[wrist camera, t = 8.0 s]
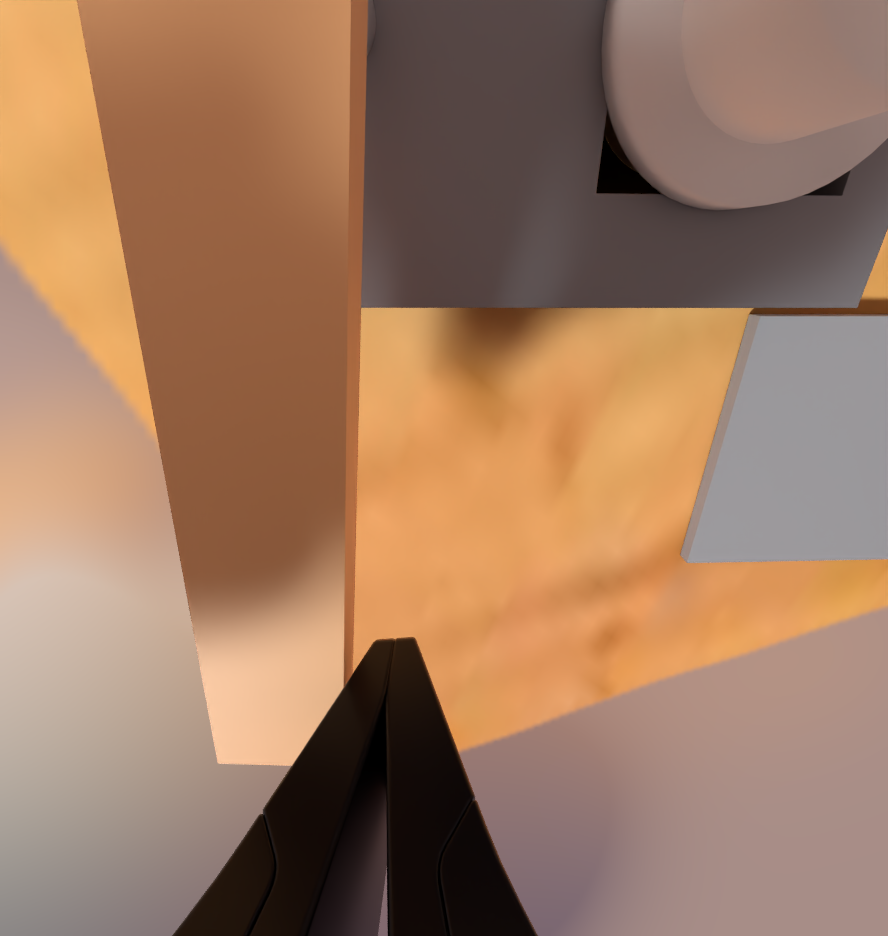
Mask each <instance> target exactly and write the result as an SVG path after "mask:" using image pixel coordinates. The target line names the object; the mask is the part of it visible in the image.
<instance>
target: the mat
mask: <svg viewBox="0 0 888 936" xmlns="http://www.w3.org/2000/svg"><path fill="white" fill-rule="evenodd" d="M680 555H681V556H682V558H683V559H684V560H685V561H686V562H687V563H709V562H762V561H815V560H868V559H888V314H749V317H748V321H747V324H746V328H745V331H744V335H743V338H742V342H741V345H740V349H739V352H738V356H737V359H736V362H735V366H734V369H733V373H732V376H731V380H730V383H729V387H728V390H727V394H726V397H725V401H724V404H723V408H722V411H721V415H720V418H719V422H718V425H717V429H716V432H715V436H714V439H713V443H712V446H711V450H710V453H709V457H708V460H707V464H706V467H705V471H704V474H703V478H702V481H701V485H700V488H699V492H698V495H697V498H696V502H695V505H694V509H693V512H692V516H691V519H690V523H689V526H688V530H687V533H686V537H685V540H684V544H683V547H682V551H681V554H680Z"/></svg>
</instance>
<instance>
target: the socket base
mask: <svg viewBox="0 0 888 936" xmlns="http://www.w3.org/2000/svg"><path fill="white" fill-rule="evenodd" d="M606 4H607V0H368V24H367V68H366V111H365V155H364V199H363V242H362V286H361V308H857V307H858V304H859V302H860V299H861V297H862V294H863V291H864V289H865V286H866V284H867V281H868V278H869V276H870V273H871V271H872V268H873V265H874V263H875V260H876V258H877V255H878V252H879V250H880V247H881V245H882V242H883V239H884V237H885V234H886V232H887V229H888V138H887V139H886V140H885V141H884V142H883V143H882V144H881V145H880V146H879V147H878V148H877V149H876V150H875V151H874V152H873V153H871V154H870V155H869V156H868V157H866V158H865V159H864V160H863V161H861V162H860V163H859V164H857V165H856V166H855V167H854V168H852V169H851V170H849V171H848V172H846V173H845V174H843V175H842V176H840V177H838V178H837V179H835V180H834V181H832V182H831V183H829V184H827V185H825V186H823V187H820V188H818V189H816V190H814V191H812V192H810V193H808V194H805V195H802V196H799V197H797V198H794V199H791V200H788V201H783V202H778V203H774V204H769V205H762V206H755V207H748V208H741V209H731V210H708V209H700V208H696V207H692V206H688V205H684V204H682V203H680V202H677V201H675V200H673V199H671V198H668V197H667V196H665V195H664V194H600V193H596V190H597V182H598V175H599V167H600V159H601V152H602V144H603V136H604V129H605V121H606V113H607V104H606V100H605V92H604V85H603V78H602V51H601V50H602V36H603V22H604V16H605V10H606Z"/></svg>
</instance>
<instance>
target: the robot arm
mask: <svg viewBox="0 0 888 936" xmlns="http://www.w3.org/2000/svg"><path fill="white" fill-rule="evenodd" d="M263 814H264V815H263ZM263 814H260V815H259V816H258V817H257V819H256V820H255V822H254V823H253V825H252V826H251V828H250V830H249V831H248V832H247V834H246V835H245V837H244V839H243V840H242V841H241V843H240V844H239V846H238V847H237V849H236V850H235V852H234V853H233V854H232V856H231V857H230V859H229V860H228V862H227V863H226V864H225V866H224V867H223V869H222V870H221V872H220V873H219V875H218V876H217V877H216V879H215V880H214V882H213V883H212V884H211V885H210V887H209V888H208V889H207V891H206V892H205V893H204V895H203V896H202V897H201V899H200V900H199V901H198V903H197V904H196V905H195V907H194V908H193V909H192V911H191V912H190V913H189V915H188V916H187V917H186V918H185V920H184V921H183V923H182V924H181V925H180V926H179V928H178V929H177V930H176V931H175V933H174V934H173V935H172V936H378V930H379V922H380V915H381V907H382V899H383V891H384V884H385V876H386V868H387V898H388V899H387V900H388V903H387V904H388V905H387V906H388V936H538V935H537V934H536V931H535V929H534V927H533V925H532V924H531V922H530V920H529V918H528V916H527V914H526V912H525V910H524V908H523V906H522V904H521V902H520V900H519V898H518V896H517V894H516V892H515V890H514V888H513V886H512V883H511V881H510V879H509V877H508V875H507V873H506V871H505V869H504V867H503V865H502V863H501V860H500V858H499V855H498V853H497V851H496V848H495V846H494V843H493V841H492V839H491V836H490V834H489V831H488V829H487V826H486V824H485V821H484V818H483V816H482V813H481V810H480V808H479V805H478V802H477V801H476V800H475V795H474V792H473V790H472V787H471V785H470V782H469V779H468V776H467V774H466V771H465V769H464V766H463V763H462V761H461V758H460V755H459V753H458V750H457V747H456V745H455V742H454V739H453V737H452V734H451V731H450V729H449V726H448V723H447V721H446V718H445V715H444V713H443V710H442V707H441V705H440V702H439V699H438V697H437V694H436V691H435V689H434V686H433V683H432V681H431V678H430V675H429V673H428V670H427V668H426V665H425V662H424V660H423V657H422V654H421V652H420V649H419V646H418V644H417V641H416V639H415V638H414V637H406V638H397V639H393V638H392V639H379V640H376V641H374V643H373V644H372V645H371V647H370V648H369V650H368V652H367V653H366V655H365V656H364V658H363V659H362V661H361V662H360V664H359V665H358V667H357V668H356V670H355V671H354V673H353V674H352V676H351V677H350V679H349V680H348V682H347V683H346V685H345V686H344V688H343V689H342V691H341V692H340V694H339V695H338V697H337V698H336V700H335V701H334V703H333V704H332V706H331V707H330V709H329V710H328V712H327V713H326V715H325V716H324V718H323V719H322V721H321V722H320V724H319V725H318V727H317V729H316V730H315V732H314V733H313V735H312V736H311V738H310V739H309V741H308V742H307V744H306V745H305V747H304V748H303V750H302V751H301V753H300V754H299V756H298V757H297V759H296V760H295V762H294V763H293V765H292V766H291V768H290V769H289V771H288V772H287V774H286V775H285V777H284V778H283V780H282V781H281V783H280V784H279V786H278V787H277V789H276V791H275V792H274V793H273V795H272V796H271V798H270V800H269V801H268V803H267V804H266V806H265V807H264V809H263Z"/></svg>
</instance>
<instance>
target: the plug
mask: <svg viewBox="0 0 888 936" xmlns="http://www.w3.org/2000/svg"><path fill="white" fill-rule="evenodd" d="M601 51H602V78H603V85H604V92H605V100H606V104H607V113H606V121H605V129H604V134H605V137H606V139H607V142H608V143H609V145H610V147H611V149H612V150H613V152H614V153H615V154H616V155H617V157H618V158H619V159H620V160H621V161H622V162H623V163H624V164H625V165H627V166H628V167H630V168H631V169H633V170H634V171H636V172H638V173H639V174H640V175H641V176H642V177H643V178H644V179H645V180H646V181H647V182H648V183H649V184H650V185H651V186H652V187H654V188H655V189H656V190H658V191H659V192H661V193H662V194H664V195H665V196H667V197H668V198H671V199H673V200H675V201H677V202H680V203H682V204H684V205H688V206H692V207H696V208H700V209H708V210H731V209H741V208H748V207H755V206H762V205H769V204H774V203H778V202H783V201H788V200H791V199H794V198H797V197H799V196H802V195H805V194H808V193H810V192H812V191H814V190H816V189H818V188H820V187H823V186H825V185H827V184H829V183H831V182H832V181H834V180H835V179H837V178H838V177H840V176H842V175H843V174H845V173H846V172H848V171H849V170H851V169H852V168H854V167H855V166H856V165H857V164H859V163H860V162H861V161H863V160H864V159H865V158H866V157H868V156H869V155H870V154H871V153H873V152H874V151H875V150H876V149H877V148H878V147H879V146H880V145H881V144H882V143H883V142H884V141H885V140H886V139H887V138H888V0H607V4H606V10H605V16H604V22H603V36H602V50H601Z"/></svg>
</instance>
